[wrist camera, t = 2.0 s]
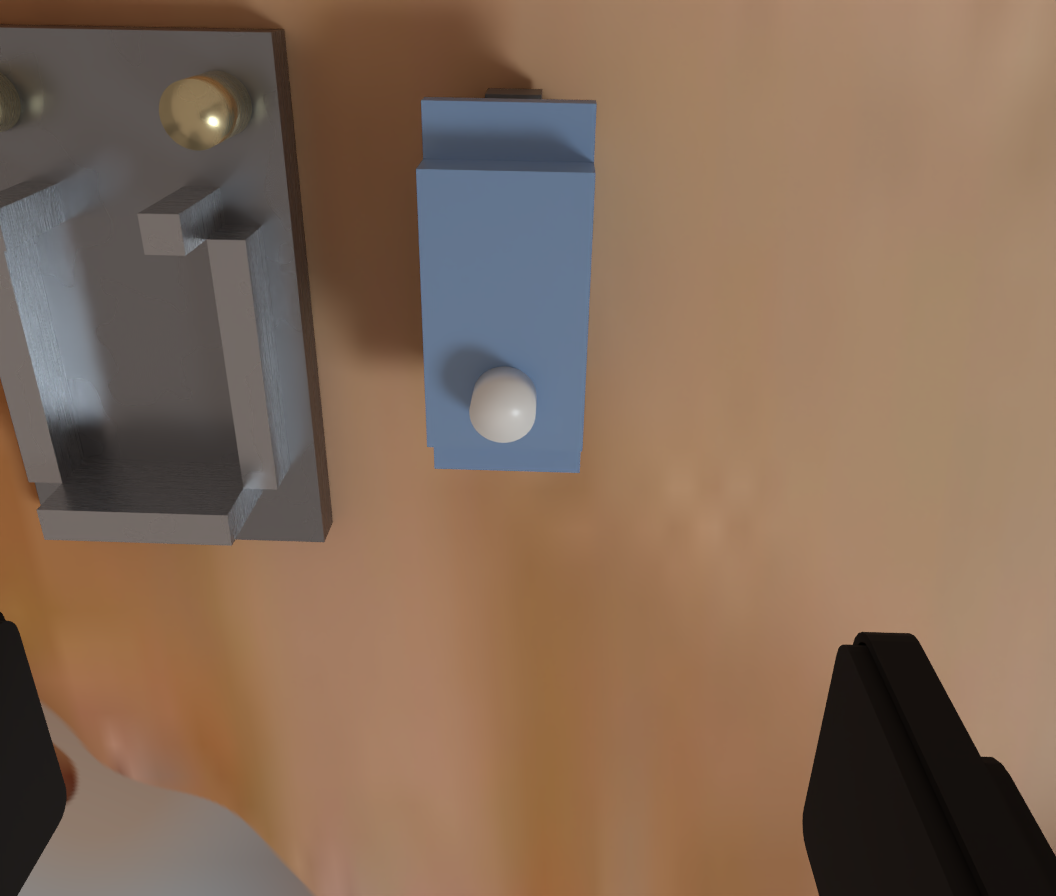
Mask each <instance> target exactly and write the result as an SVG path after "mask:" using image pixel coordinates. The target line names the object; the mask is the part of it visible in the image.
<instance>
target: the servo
mask: <svg viewBox="0 0 1056 896" xmlns="http://www.w3.org/2000/svg"><path fill="white" fill-rule="evenodd" d="M421 112H422V139H423V160H422V161H421V163H420V164H419V166H418V167H417V168H416V181H417V205H418V230H419V255H420V279H421V304H422V329H423V353H424V378H425V403H426V427H427V447H434V465H435V469H468V470H502V471H537V472H571V473H580V451H582V446H583V425H584V404H585V382H586V361H587V340H588V319H589V297H590V276H591V255H592V234H593V213H594V191H595V167H594V147H595V126H596V100H555V99H542V89H502V88H488V90H487V92H486V93H485V98H454V97H424V98H423V99H422V100H421Z"/></svg>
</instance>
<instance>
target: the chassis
mask: <svg viewBox="0 0 1056 896" xmlns="http://www.w3.org/2000/svg"><path fill="white" fill-rule="evenodd" d="M0 378H1V382H2V385H3V389H4V393H5V396H6V400H7V404H8V407H9V411H10V415H11V418H12V422H13V426H14V429H15V433H16V437H17V440H18V444H19V448H20V452H21V455H22V459H23V463H24V466H25V470H26V474H27V477H28V481H29V482H35V485H36V489H37V492H38V496H39V500H40V504H41V506H40V507H39V508H38V509H37V513H38V517H39V520H40V524H41V528H42V531H43V535H44V539H45V540H74V541H106V542H138V543H169V544H201V545H232V544H233V543H234V541H235V539H241V540H273V541H305V542H325V539H326V537H327V535H328V532H329V530H330V527H331V525H332V523H333V521H332V511H331V500H330V490H329V480H328V470H327V460H326V450H325V439H324V429H323V419H322V409H321V399H320V389H319V378H318V368H317V358H316V348H315V338H314V328H313V317H312V307H311V297H310V287H309V277H308V267H307V257H306V246H305V236H304V226H303V216H302V206H301V196H300V185H299V175H298V165H297V155H296V145H295V135H294V124H293V114H292V104H291V94H290V84H289V74H288V63H287V53H286V43H285V33H284V29H234V28H179V27H124V26H69V25H13V24H0Z"/></svg>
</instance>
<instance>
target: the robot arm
mask: <svg viewBox="0 0 1056 896" xmlns="http://www.w3.org/2000/svg"><path fill="white" fill-rule="evenodd" d="M65 805H66V787H65V783H64V780H63V777H62V773H61V770H60V767H59V763H58V760H57V757H56V753H55V750H54V747H53V743H52V740H51V737H50V733H49V730H48V727H47V723H46V720H45V717H44V713H43V710H42V707H41V703H40V700H39V697H38V693H37V690H36V687H35V683H34V680H33V677H32V673H31V670H30V667H29V663H28V660H27V657H26V653H25V650H24V647H23V643H22V640H21V637H20V633H19V631H18V628H17V626H16V625H15V624H14V623H13V622H11V621H6V620H5V618H4V616H3V614H2V613H1V612H0V896H17V895H18V893H19V892H20V890H21V888H22V887H23V885H24V883H25V881H26V880H27V878H28V876H29V875H30V873H31V871H32V869H33V867H34V866H35V864H36V863H37V861H38V859H39V857H40V856H41V854H42V852H43V850H44V849H45V847H46V845H47V844H48V842H49V840H50V838H51V837H52V835H53V833H54V832H55V830H56V828H57V826H58V825H59V822H60V821H61V819H62V816H63V813H64V810H65ZM803 836H804V842H805V846H806V850H807V854H808V857H809V861H810V864H811V868H812V872H813V875H814V879H815V882H816V886H817V889H818V893H819V896H1056V856H1055V854H1054V853H1053V851H1052V849H1051V847H1050V845H1049V844H1048V842H1047V840H1046V838H1045V837H1044V835H1043V833H1042V831H1041V829H1040V828H1039V826H1038V824H1037V822H1036V821H1035V819H1034V817H1033V815H1032V813H1031V812H1030V810H1029V808H1028V806H1027V805H1026V803H1025V801H1024V799H1023V797H1022V796H1021V794H1020V792H1019V790H1018V789H1017V787H1016V785H1015V783H1014V781H1013V780H1012V778H1011V776H1010V775H1009V773H1008V772H1007V770H1006V769H1005V768H1004V766H1003V765H1002V764H1001V763H1000V762H999V761H997V760H996V759H994V758H993V757H981V756H980V754H979V752H978V751H977V749H976V747H975V745H974V743H973V741H972V739H971V738H970V736H969V734H968V732H967V730H966V728H965V726H964V725H963V723H962V721H961V719H960V717H959V715H958V713H957V712H956V710H955V708H954V706H953V704H952V702H951V700H950V699H949V697H948V695H947V693H946V691H945V689H944V687H943V685H942V684H941V682H940V680H939V678H938V676H937V674H936V672H935V671H934V669H933V667H932V665H931V663H930V661H929V659H928V658H927V656H926V654H925V652H924V650H923V648H922V646H921V645H920V643H919V641H918V640H917V638H916V637H915V636H914V635H912V634H910V633H877V632H861V633H858V635H857V636H856V637H855V640H854V643H853V645H841V646H840V647H839V649H838V652H837V655H836V660H835V665H834V669H833V674H832V679H831V684H830V688H829V693H828V698H827V702H826V707H825V712H824V716H823V721H822V726H821V731H820V735H819V740H818V745H817V749H816V754H815V759H814V763H813V768H812V773H811V777H810V782H809V787H808V792H807V796H806V801H805V806H804V811H803Z"/></svg>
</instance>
